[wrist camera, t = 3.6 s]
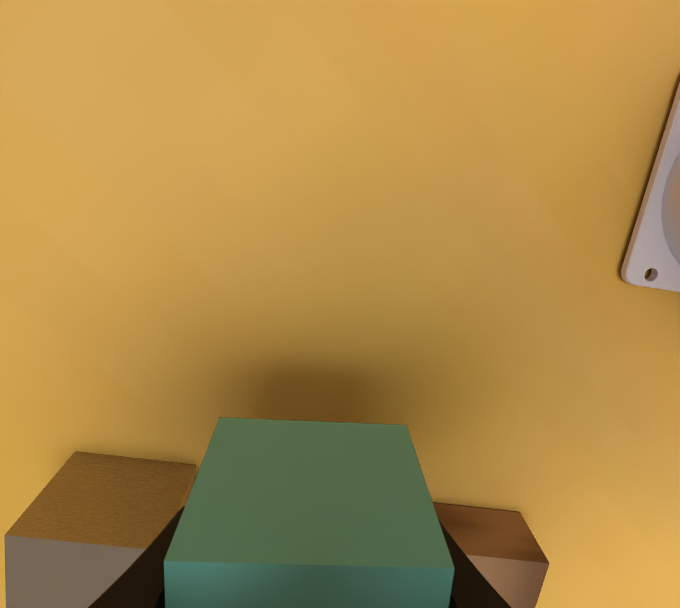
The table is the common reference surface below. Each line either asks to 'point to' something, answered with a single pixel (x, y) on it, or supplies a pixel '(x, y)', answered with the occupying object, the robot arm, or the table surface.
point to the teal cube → (308, 521)
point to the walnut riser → (499, 550)
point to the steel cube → (90, 528)
